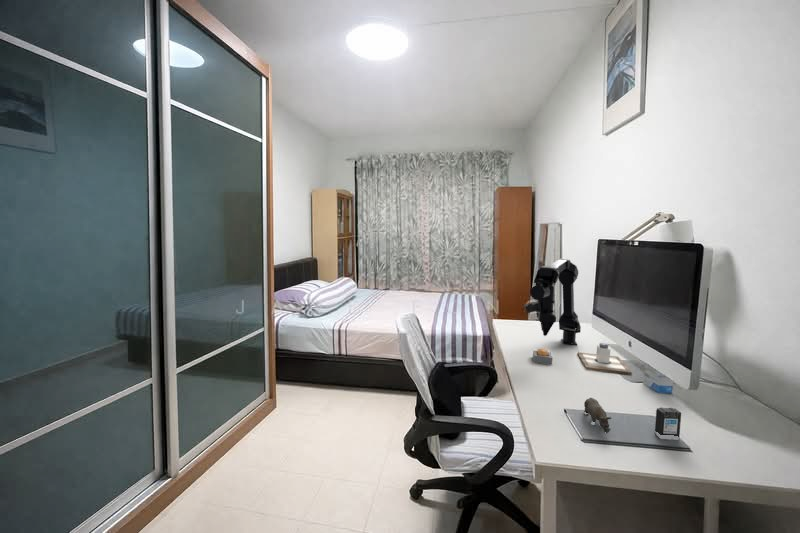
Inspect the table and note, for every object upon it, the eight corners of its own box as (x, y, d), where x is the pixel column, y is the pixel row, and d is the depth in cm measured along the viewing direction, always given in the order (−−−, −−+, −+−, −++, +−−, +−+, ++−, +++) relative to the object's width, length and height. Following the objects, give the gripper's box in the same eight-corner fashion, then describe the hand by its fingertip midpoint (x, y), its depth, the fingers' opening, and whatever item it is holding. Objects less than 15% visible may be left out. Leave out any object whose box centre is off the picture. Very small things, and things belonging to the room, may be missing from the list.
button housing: (532, 356, 152) (533, 350, 152) (550, 358, 150) (550, 352, 150) (533, 362, 146) (534, 355, 146) (552, 364, 144) (552, 357, 143)
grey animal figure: (599, 439, 93) (601, 417, 92) (580, 412, 106) (581, 393, 106) (616, 440, 92) (618, 419, 91) (594, 413, 106) (596, 394, 105)
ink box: (673, 393, 120) (676, 360, 118) (658, 393, 120) (662, 360, 118) (655, 382, 128) (658, 351, 127) (642, 382, 128) (644, 351, 127)
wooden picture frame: (577, 354, 157) (577, 351, 157) (617, 358, 152) (618, 356, 152) (585, 369, 140) (586, 366, 139) (631, 374, 135) (631, 372, 135)
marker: (596, 358, 148) (597, 342, 147) (606, 360, 147) (608, 343, 146) (598, 362, 144) (599, 345, 144) (609, 363, 143) (610, 346, 142)
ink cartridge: (660, 440, 93) (662, 411, 92) (654, 435, 95) (656, 407, 94) (679, 440, 92) (681, 412, 92) (673, 435, 95) (675, 407, 94)
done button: (536, 355, 150) (537, 348, 150) (546, 356, 149) (547, 349, 149) (537, 358, 147) (538, 351, 146) (547, 359, 145) (548, 352, 145)
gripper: (524, 291, 156) (523, 325, 158) (527, 299, 139) (524, 337, 140) (551, 293, 153) (549, 328, 155) (557, 301, 135) (554, 340, 137)
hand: (544, 333), depth 147 cm, fingers open, 7 cm apart
